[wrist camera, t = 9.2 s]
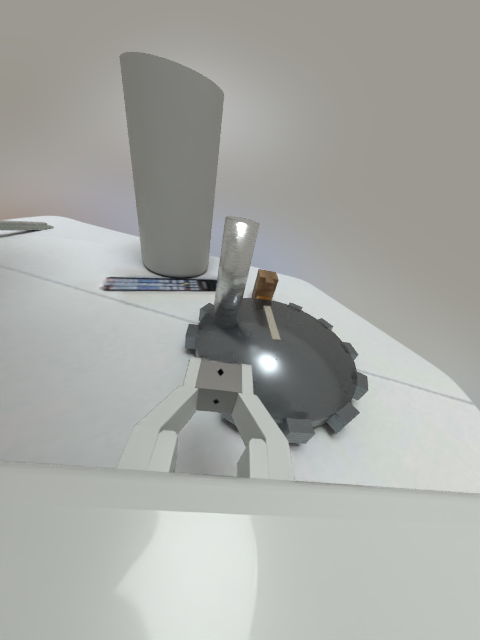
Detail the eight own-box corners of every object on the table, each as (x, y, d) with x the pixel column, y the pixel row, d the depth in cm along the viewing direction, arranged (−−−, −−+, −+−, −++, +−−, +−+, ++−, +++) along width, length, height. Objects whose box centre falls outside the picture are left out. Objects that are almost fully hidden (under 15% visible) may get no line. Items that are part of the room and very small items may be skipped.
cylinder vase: (163, 249, 45) (155, 90, 30) (214, 262, 44) (232, 107, 30) (128, 268, 35) (92, 41, 20) (195, 285, 34) (207, 66, 20)
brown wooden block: (253, 308, 32) (260, 281, 29) (252, 294, 36) (258, 269, 33) (270, 311, 32) (280, 284, 29) (267, 297, 36) (275, 272, 33)
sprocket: (149, 337, 21) (133, 205, 14) (257, 293, 34) (280, 213, 27) (310, 514, 12) (531, 409, 5) (374, 361, 25) (457, 269, 18)
